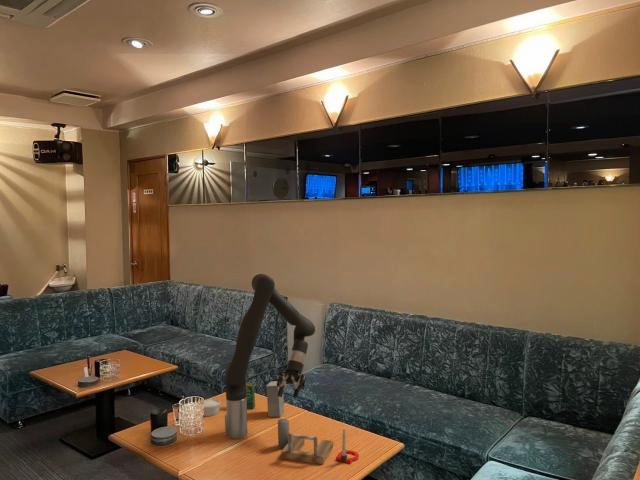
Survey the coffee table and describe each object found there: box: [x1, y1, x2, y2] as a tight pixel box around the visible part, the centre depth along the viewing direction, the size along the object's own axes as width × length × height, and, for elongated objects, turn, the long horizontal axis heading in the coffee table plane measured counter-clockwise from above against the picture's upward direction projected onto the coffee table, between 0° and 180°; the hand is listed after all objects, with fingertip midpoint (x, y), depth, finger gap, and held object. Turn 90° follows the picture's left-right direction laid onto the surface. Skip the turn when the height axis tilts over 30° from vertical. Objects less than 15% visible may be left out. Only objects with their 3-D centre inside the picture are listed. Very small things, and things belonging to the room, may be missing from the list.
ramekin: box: [203, 398, 221, 417], centre depth 236 cm, size 11×11×5 cm
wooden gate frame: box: [281, 433, 334, 465], centre depth 191 cm, size 18×14×10 cm
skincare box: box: [265, 380, 285, 418], centre depth 233 cm, size 8×7×16 cm
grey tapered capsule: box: [277, 418, 290, 450], centre depth 198 cm, size 5×5×11 cm
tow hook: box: [335, 429, 360, 464], centre depth 187 cm, size 8×13×9 cm
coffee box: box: [246, 382, 256, 410], centre depth 242 cm, size 8×3×13 cm, turn 72°
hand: (287, 397), depth 205 cm, fingers open, 8 cm apart
